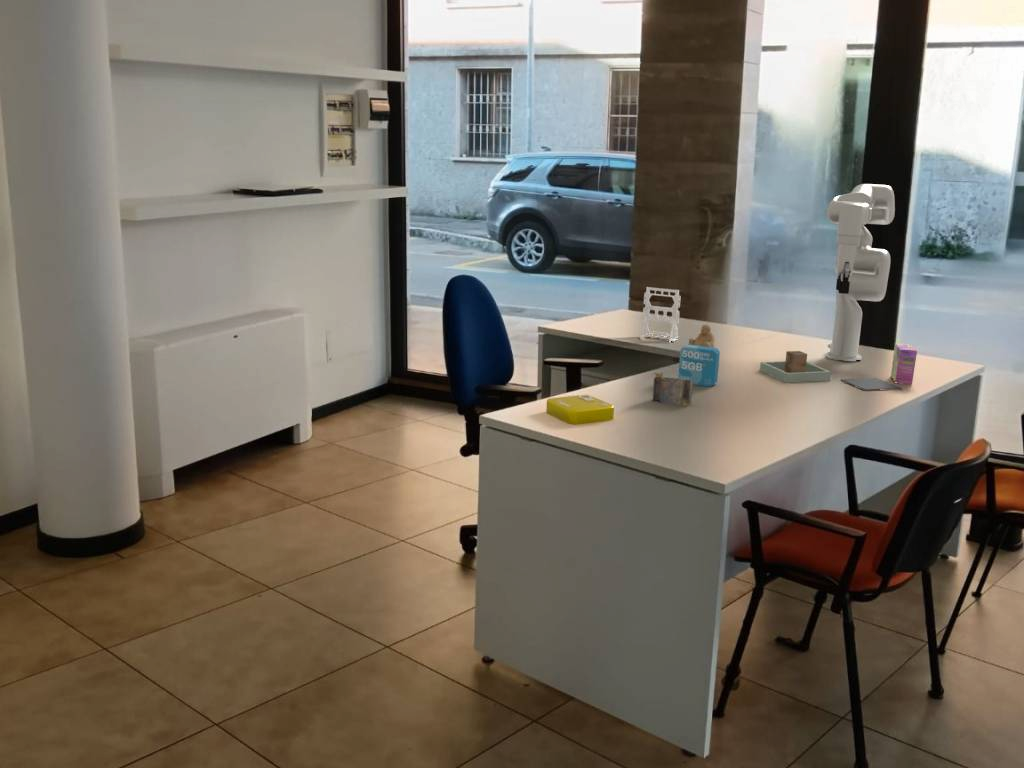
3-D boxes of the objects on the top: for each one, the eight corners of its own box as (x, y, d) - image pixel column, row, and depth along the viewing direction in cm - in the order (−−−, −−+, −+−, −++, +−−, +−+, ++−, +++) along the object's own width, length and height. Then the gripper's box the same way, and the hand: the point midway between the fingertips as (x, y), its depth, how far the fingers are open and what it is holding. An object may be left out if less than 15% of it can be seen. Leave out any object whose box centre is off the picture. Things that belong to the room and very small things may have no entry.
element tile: (543, 413, 304) (544, 397, 302) (586, 407, 311) (587, 392, 310) (571, 426, 291) (572, 410, 290) (616, 421, 298) (617, 404, 297)
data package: (677, 382, 344) (680, 346, 341) (681, 379, 348) (684, 343, 345) (713, 387, 339) (716, 350, 336) (717, 384, 343) (720, 348, 340)
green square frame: (759, 370, 365) (760, 362, 364) (802, 368, 370) (803, 360, 369) (785, 382, 349) (786, 373, 348) (830, 380, 354) (831, 371, 353)
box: (912, 384, 352) (917, 350, 350) (894, 383, 354) (899, 348, 351) (907, 377, 362) (912, 344, 359) (890, 376, 363) (894, 342, 361)
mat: (840, 380, 354) (840, 379, 354) (875, 379, 358) (876, 377, 358) (865, 390, 341) (865, 389, 341) (901, 389, 345) (902, 387, 345)
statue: (731, 331, 377) (713, 325, 371) (720, 368, 378) (702, 363, 372) (706, 325, 387) (688, 319, 380) (695, 362, 388) (677, 357, 381)
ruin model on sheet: (651, 402, 319) (654, 371, 317) (654, 400, 322) (656, 369, 319) (688, 407, 315) (691, 376, 313) (690, 405, 318) (693, 373, 316)
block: (784, 374, 361) (786, 351, 359) (796, 373, 362) (799, 350, 360) (791, 377, 356) (794, 354, 354) (804, 377, 358) (807, 354, 356)
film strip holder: (682, 337, 416) (686, 287, 411) (672, 344, 404) (676, 292, 399) (647, 333, 421) (650, 284, 417) (636, 339, 409) (640, 288, 404)
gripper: (834, 238, 360) (828, 288, 364) (838, 241, 344) (832, 293, 347) (856, 239, 359) (851, 289, 362) (862, 243, 342) (856, 295, 346)
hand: (842, 291), depth 355 cm, fingers open, 9 cm apart
